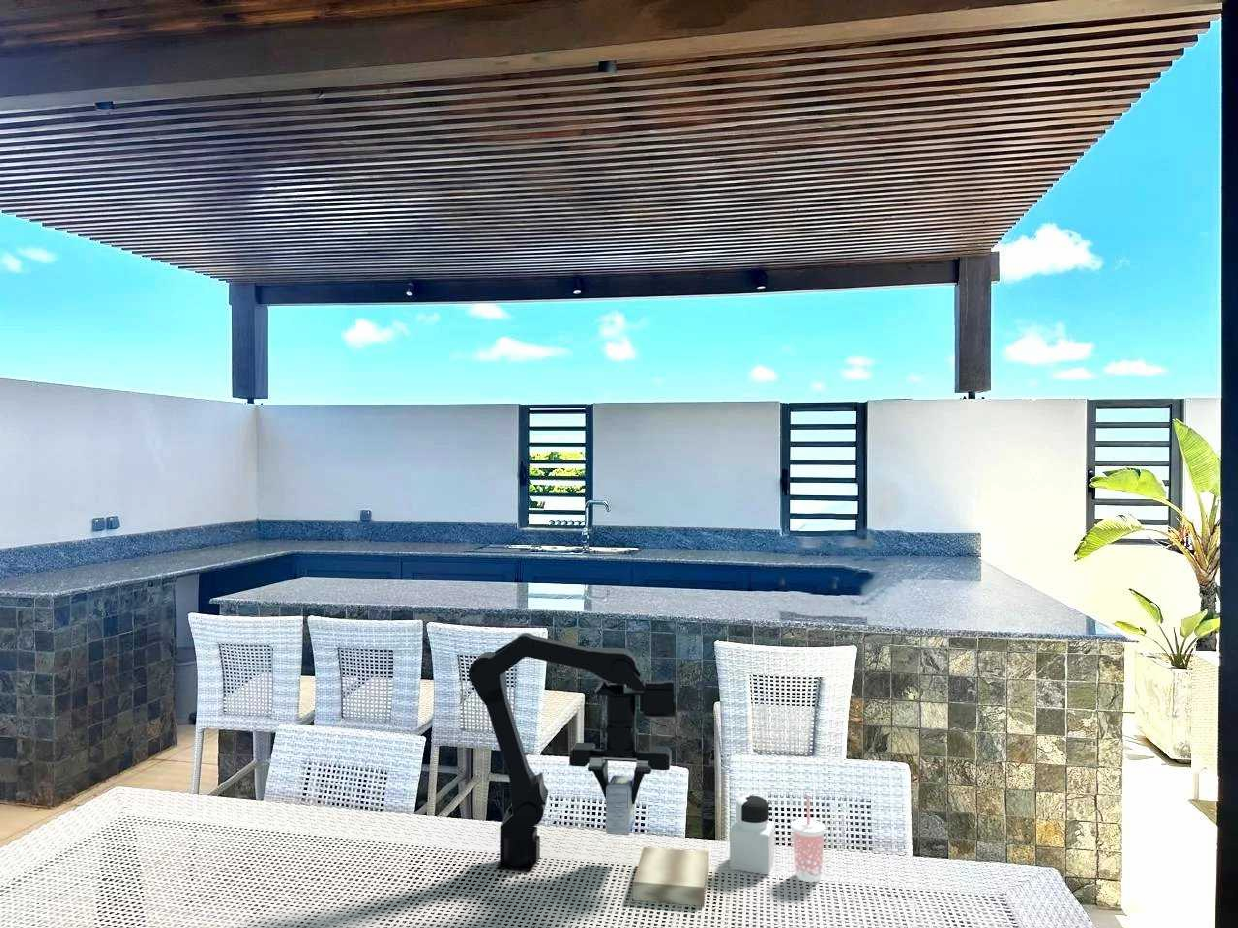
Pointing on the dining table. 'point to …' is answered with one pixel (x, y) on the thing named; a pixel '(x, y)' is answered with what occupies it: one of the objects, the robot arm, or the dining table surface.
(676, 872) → the wood pedestal
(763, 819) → the medicine bottle
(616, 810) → the medicine box
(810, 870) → the beverage cup
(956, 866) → the dining table surface
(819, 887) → the dining table surface
